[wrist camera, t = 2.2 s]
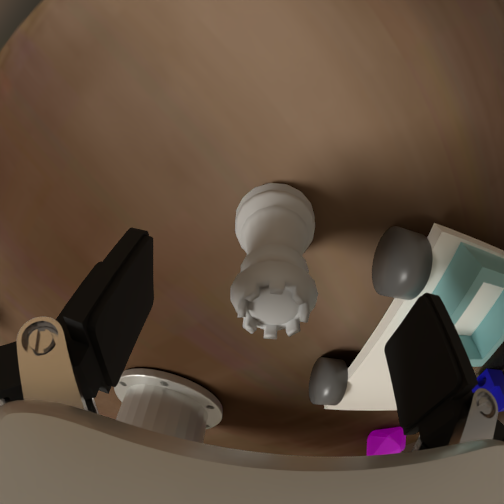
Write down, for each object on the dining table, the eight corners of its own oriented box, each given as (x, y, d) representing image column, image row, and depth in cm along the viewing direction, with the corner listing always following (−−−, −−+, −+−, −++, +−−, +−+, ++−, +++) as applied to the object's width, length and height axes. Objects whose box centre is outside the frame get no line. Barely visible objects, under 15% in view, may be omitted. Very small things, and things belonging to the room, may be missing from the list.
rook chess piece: (326, 231, 17) (353, 331, 10) (260, 261, 18) (251, 366, 12) (291, 165, 15) (304, 238, 8) (221, 203, 17) (183, 293, 10)
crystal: (380, 439, 34) (384, 465, 30) (359, 435, 33) (362, 463, 29) (408, 425, 32) (413, 452, 28) (388, 420, 30) (394, 450, 26)
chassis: (424, 386, 26) (436, 427, 21) (304, 380, 25) (306, 432, 20) (523, 252, 16) (558, 292, 12) (396, 200, 16) (438, 248, 11)
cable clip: (486, 367, 25) (502, 405, 20) (500, 369, 25) (515, 403, 20) (426, 418, 31) (435, 452, 26) (444, 417, 31) (453, 449, 26)
